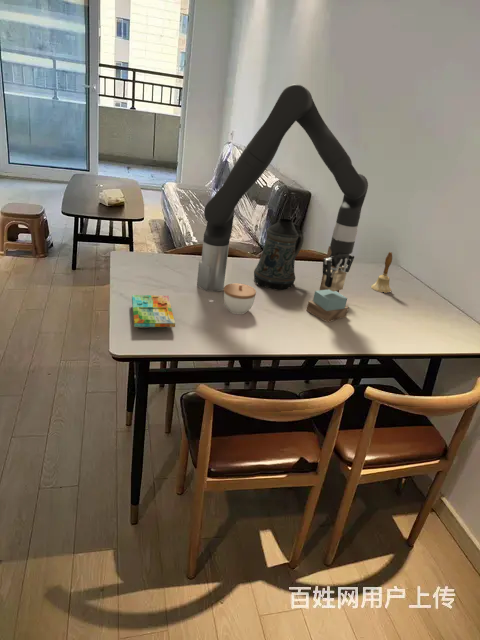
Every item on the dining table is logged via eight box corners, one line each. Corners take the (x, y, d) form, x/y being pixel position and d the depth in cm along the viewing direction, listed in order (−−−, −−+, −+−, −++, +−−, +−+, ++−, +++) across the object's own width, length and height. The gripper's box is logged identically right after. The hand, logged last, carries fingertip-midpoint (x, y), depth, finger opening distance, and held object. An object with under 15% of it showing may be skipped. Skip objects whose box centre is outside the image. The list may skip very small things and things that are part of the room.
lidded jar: (237, 301, 168) (240, 276, 164) (259, 313, 161) (263, 287, 157) (215, 307, 160) (217, 282, 156) (236, 320, 154) (240, 293, 150)
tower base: (327, 323, 162) (330, 312, 160) (306, 311, 168) (308, 301, 166) (345, 317, 168) (348, 307, 166) (324, 306, 174) (326, 296, 173)
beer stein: (247, 283, 184) (256, 220, 173) (262, 269, 201) (271, 210, 190) (287, 293, 180) (299, 229, 169) (300, 278, 197) (311, 219, 186)
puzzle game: (168, 293, 156) (175, 320, 139) (167, 306, 158) (174, 335, 141) (132, 292, 153) (134, 320, 135) (131, 305, 155) (133, 334, 138)
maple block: (333, 291, 160) (337, 275, 158) (322, 286, 163) (325, 269, 161) (342, 289, 163) (346, 273, 161) (331, 284, 167) (335, 267, 164)
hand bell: (384, 294, 192) (394, 257, 185) (367, 287, 198) (376, 250, 191) (395, 291, 198) (405, 254, 191) (378, 283, 203) (388, 248, 196)
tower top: (326, 311, 161) (329, 300, 159) (312, 301, 167) (315, 290, 165) (344, 308, 165) (347, 298, 163) (330, 299, 171) (332, 289, 169)
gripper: (348, 232, 162) (337, 278, 170) (320, 235, 154) (310, 284, 161) (366, 238, 157) (354, 286, 165) (338, 242, 149) (327, 292, 156)
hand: (333, 285), depth 163 cm, fingers closed on maple block, 5 cm apart
